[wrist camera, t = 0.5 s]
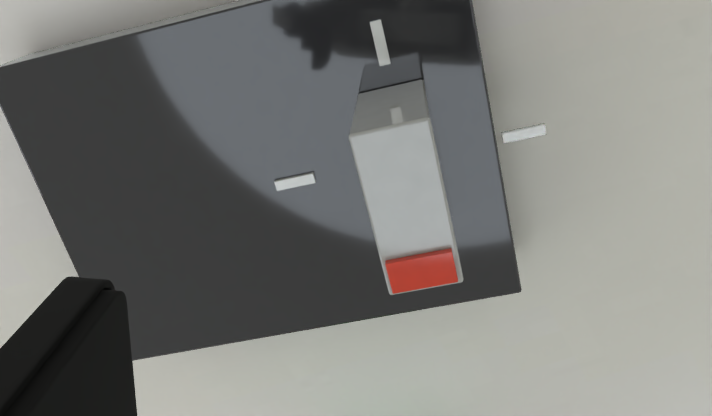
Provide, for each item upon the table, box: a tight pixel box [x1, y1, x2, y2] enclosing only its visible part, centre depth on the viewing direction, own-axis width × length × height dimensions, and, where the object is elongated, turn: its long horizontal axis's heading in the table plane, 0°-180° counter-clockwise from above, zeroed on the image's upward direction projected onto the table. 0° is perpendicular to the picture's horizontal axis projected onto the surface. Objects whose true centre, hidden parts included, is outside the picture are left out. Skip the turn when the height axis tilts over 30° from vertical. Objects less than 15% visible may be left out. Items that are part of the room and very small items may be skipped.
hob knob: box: [348, 80, 464, 295], centre depth 20 cm, size 5×2×5 cm, turn 14°
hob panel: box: [0, 0, 546, 361], centre depth 24 cm, size 12×18×3 cm
